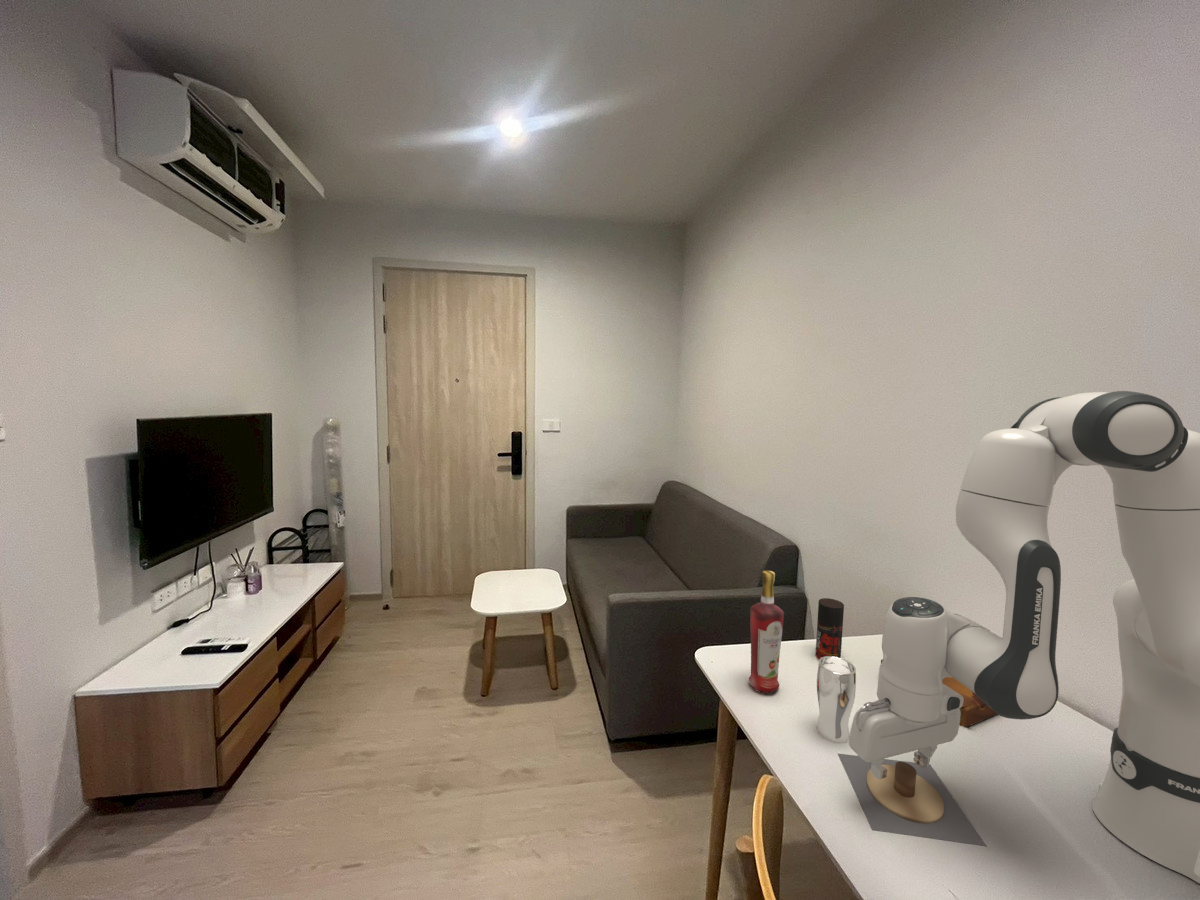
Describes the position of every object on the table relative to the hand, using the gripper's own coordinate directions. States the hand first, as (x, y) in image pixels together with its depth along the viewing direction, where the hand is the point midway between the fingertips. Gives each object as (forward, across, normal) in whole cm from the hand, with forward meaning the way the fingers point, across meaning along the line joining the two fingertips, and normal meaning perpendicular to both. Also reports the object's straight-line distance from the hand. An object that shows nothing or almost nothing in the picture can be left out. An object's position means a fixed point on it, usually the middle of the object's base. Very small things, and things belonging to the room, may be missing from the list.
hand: (900, 770), depth 80 cm
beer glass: (+5, 0, +15) cm, 16 cm away
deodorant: (+5, +20, +38) cm, 44 cm away
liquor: (+5, -4, +32) cm, 33 cm away
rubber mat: (+4, 0, -1) cm, 5 cm away
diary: (+5, +38, +19) cm, 42 cm away
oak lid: (+4, 0, -1) cm, 4 cm away
